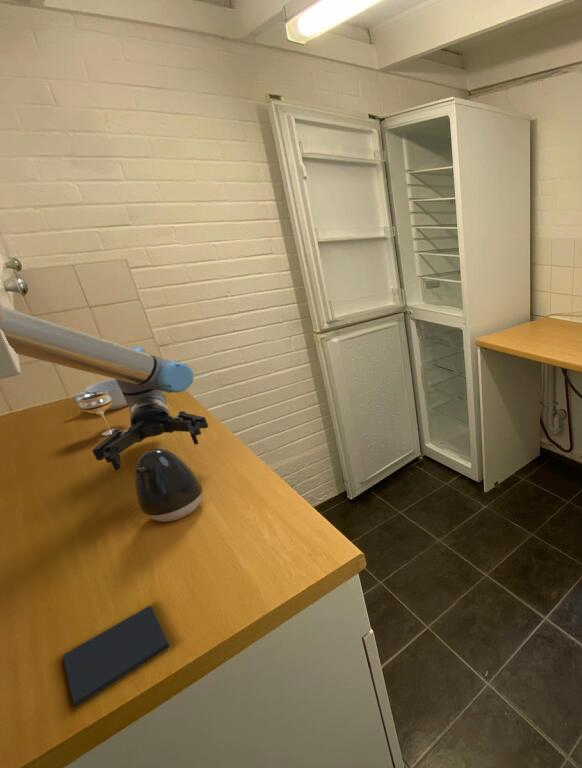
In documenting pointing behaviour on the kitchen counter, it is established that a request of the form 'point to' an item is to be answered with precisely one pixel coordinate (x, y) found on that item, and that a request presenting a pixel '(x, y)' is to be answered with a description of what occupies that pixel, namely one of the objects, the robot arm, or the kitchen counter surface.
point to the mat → (113, 654)
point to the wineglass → (96, 405)
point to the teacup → (113, 392)
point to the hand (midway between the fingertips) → (156, 451)
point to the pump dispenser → (166, 486)
